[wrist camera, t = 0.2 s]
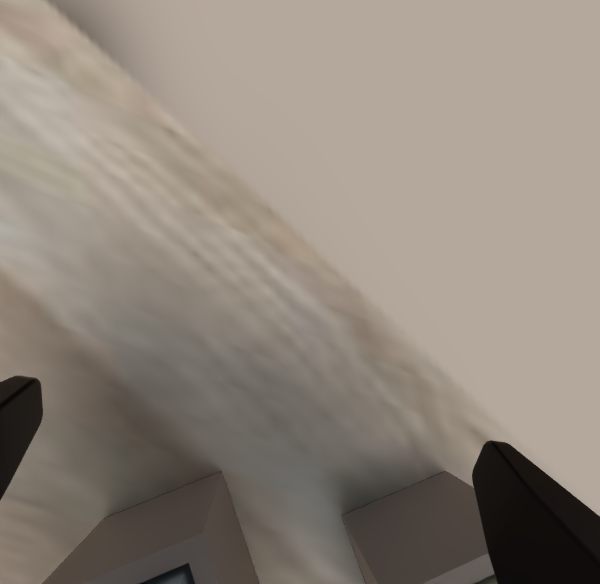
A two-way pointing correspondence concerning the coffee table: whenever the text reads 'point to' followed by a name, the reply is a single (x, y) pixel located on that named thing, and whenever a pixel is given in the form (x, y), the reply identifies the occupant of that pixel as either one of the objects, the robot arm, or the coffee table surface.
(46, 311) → the coffee table surface
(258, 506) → the coffee table surface
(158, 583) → the slate-blue button
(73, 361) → the coffee table surface
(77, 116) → the coffee table surface
